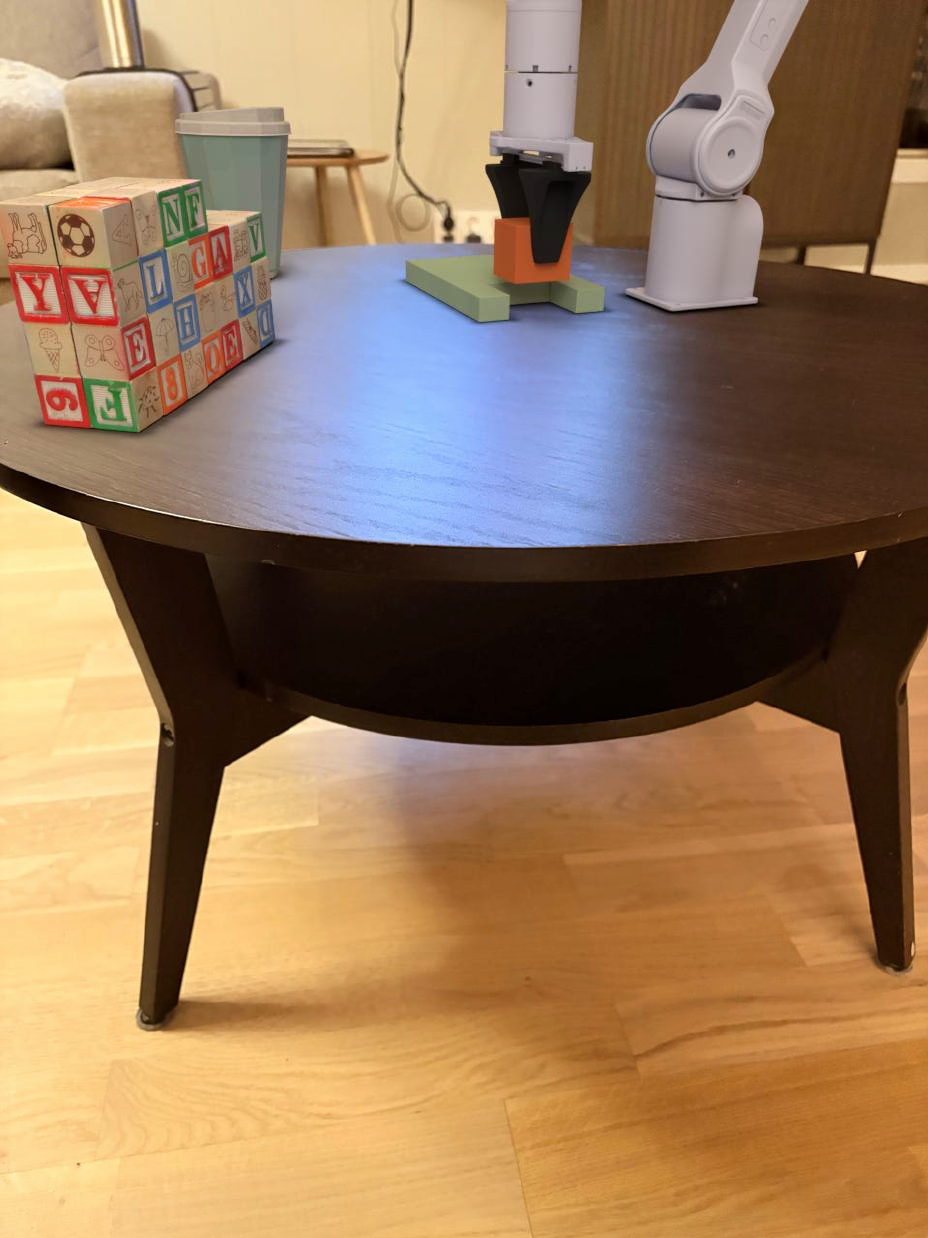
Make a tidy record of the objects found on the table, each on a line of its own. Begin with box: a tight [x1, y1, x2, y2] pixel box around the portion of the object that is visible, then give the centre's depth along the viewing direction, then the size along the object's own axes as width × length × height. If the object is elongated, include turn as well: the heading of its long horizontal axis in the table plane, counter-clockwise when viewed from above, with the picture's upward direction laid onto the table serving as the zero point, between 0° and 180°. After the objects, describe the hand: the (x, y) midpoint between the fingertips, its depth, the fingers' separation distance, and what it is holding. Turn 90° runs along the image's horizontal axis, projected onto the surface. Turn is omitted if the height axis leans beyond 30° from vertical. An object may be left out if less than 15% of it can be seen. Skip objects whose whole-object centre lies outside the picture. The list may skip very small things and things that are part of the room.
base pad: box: [405, 253, 606, 323], centre depth 86 cm, size 12×18×2 cm, turn 23°
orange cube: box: [493, 217, 574, 284], centre depth 79 cm, size 5×4×4 cm
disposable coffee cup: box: [174, 106, 292, 279], centre depth 90 cm, size 11×11×15 cm
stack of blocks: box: [0, 176, 276, 433], centre depth 60 cm, size 21×6×12 cm, turn 168°
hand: (532, 257), depth 79 cm, fingers closed on orange cube, 4 cm apart
